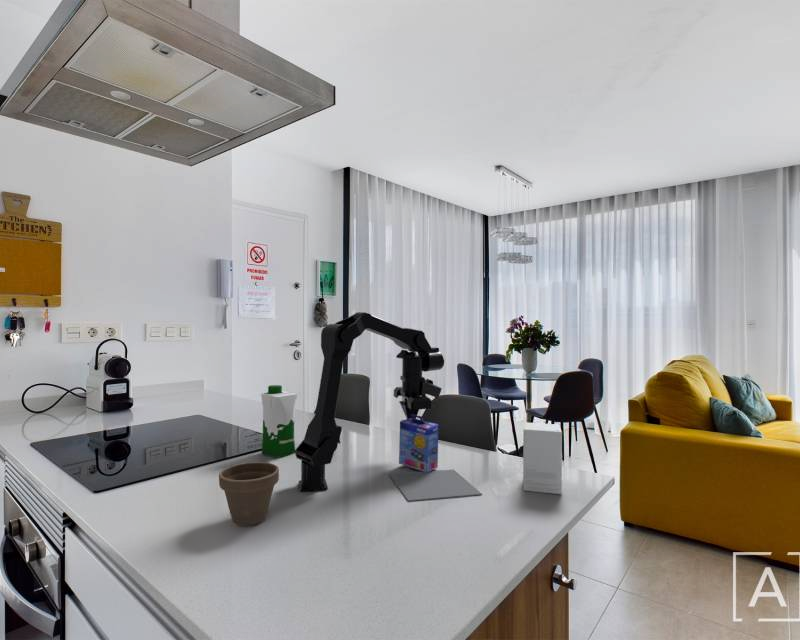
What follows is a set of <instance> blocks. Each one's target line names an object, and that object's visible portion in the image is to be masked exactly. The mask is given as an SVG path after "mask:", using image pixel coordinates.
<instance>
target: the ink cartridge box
mask: <svg viewBox="0 0 800 640" xmlns="http://www.w3.org/2000/svg"><path fill="white" fill-rule="evenodd" d="M411 416H412V418H408V419H402V420H400V421H399V443H398V445H399V450H398V453H399V455H398V464H399V465H402V466H405V467H408V468H410V469H411V468H412V469H414V470H417V471H419V472H429V471H434V470H435V469H438V467H439V465H438V462H439V461H438V460H439V459H438V458H439V427H440V426H439V424H438V423H434V422H430V421H425V420H424V419H423V417H422V415H418V414H417V415H413V414H411ZM414 417H416V419H415V418H414Z"/></svg>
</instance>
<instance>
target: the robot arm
mask: <svg viewBox="0 0 800 640" xmlns="http://www.w3.org/2000/svg"><path fill="white" fill-rule="evenodd" d="M365 331H369V332H371V333H374V334H376V335H379V336H381V337H384V338H387V339H389V340H391V341H393V342H394V344H395V345H397V346H398V347H400V348H401V351H400V352H399V353H397V355H396V358H397V359H400V360H402V363H401V364H402V375H400V376H399V377H400V380H401V383H402V384H401V386H397V387H395V388H394V389H393V397H394V398H395V399H396V398H397V399H398V398H399V397H401V400H400V401H398V402H399V404H400V406H401V407H400V408H401V409H402V411H403V414H404V417H405V418H406V419H408V418H412V416H411V414H413V415H417V416H418V414H419V412H420V410H430V409H431V410H432V409H433V404H434V403H433V400H432V399H431V398H430V397H428V396H427V395H429V396H431V397H434V398H435V399H439V398H440V395H441V392H442V389H443V387H440V386H438V385H436V384H434V381H433V380H431V379H429V378H425V377H424V376H423V372H424V373H425V372H433V371H440V370H442V369H443V368H444V365H445V359H444V356H443V353H442V352H440V348H439V347H432V346H431V345H430V342H429V341H428V339H427V338H426V334H425V332H424V331H423V330H421V329H416V328H410V327H409V328H407V327H402V326H399V325H396V324H395V323H392V322H389V321H387V320H385V319H382V318H379V317H377V316H375V315H372V314H371V313H369V312H367V311H366V312H365V311H364V312H362V311H360V312H355V313H354V314H352V315H350V316H348V317H346V318H344V319H340V320H339V321H337V322H335V323H329V324H327V325H325V326H324V327H323V328H322V330H321V334H320V348H321V352H322V354H323V365H322V370H321V377H320V384H319V389H318V396H317V400H316V407H315V413H314V416H313V418H312V419H311V420H310V422H309V424H308V425H307V428H306V432H305V434H304V438H303V440H301V442H300V444H299V445H298V446H297V447H295V453H294V454H295V455H294V456H295V457H296V459H297V460H300V461H301V466H300V468H301V470H300V472H301V473H300V480H298V486H299V492H300V493H301V492H312V491H325V490H328V489H329V488H328V487H329V486H328V484H327V480H326V465H329V464H331V463H332V460H333V457H334V453H335V452H336V450H337V449H338V446H339V445H340V444H341V434H342V429H343V427H342V426H340V425H338V424H337V422H336V411H337V406H338V405H337V404H338V399H339V392H340V391H339V390H340V386H341V379H342V373H343V367H344V361H345V359H346V358H347V356H348V355H349V353H350V352H351V350H352V346H353V343H354V340H356V339H357V338H358V337H360V336H361V335H362V334H363V333H364V332H365ZM414 418H415V419H417V417H414ZM338 444H339V445H338Z"/></svg>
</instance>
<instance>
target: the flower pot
mask: <svg viewBox="0 0 800 640" xmlns="http://www.w3.org/2000/svg"><path fill="white" fill-rule="evenodd" d="M279 474H280V469H279V467H278V465H276V464H275V463H270V462H266V461H265V462H264V461H254V462H252V461H251V462H243V463H238V464H235V465H231V466H227V467H226V468H224V469H222V470H221V471H220V472H219V473H218V484H219V488H220V489H221V490H223V491H224V494H225V495H224V496H225V498H226V503H227V507H228V511H229V514H230V517H231V520H232V522H233V524H235V525H237V526H239V527H240V526H241V527H251V526H255V525H258V524H261V523H262V522H264V521H265V520H266V518H267V517H268V512H269V509H270V505H271V501H272V495H273V492H274V487H275V485H276V484H277V483H278V482H279V480H280V479H279V478H280V475H279Z"/></svg>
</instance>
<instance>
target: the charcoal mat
mask: <svg viewBox="0 0 800 640" xmlns="http://www.w3.org/2000/svg"><path fill="white" fill-rule="evenodd" d="M389 477H390V479H391V480H392V481H393V483H394V485H396V487H397V488H398V490H399V491H400V493H401V494H402V495H403V497H404V498H405V500H406V501H407V502H409V503H410V502H419V501H420V502H421V501H430V500H431V501H432V500H440V499H443V500H444V499H454V498H464V497H465V498H466V497H475V496H477V497H478V496H483V493H482V492H480V490H478V489H477V488H476V487H475V486H474V485H473V484H471V483H470V482H469V481H468V480H466V478H465V477H463V476H462V475H461V474H460V473H458V472H457V470H455V469H444V470H443V469H441V470H431V471H429V472H423V471H414V472H413V471H412V472H400V473H389Z"/></svg>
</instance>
